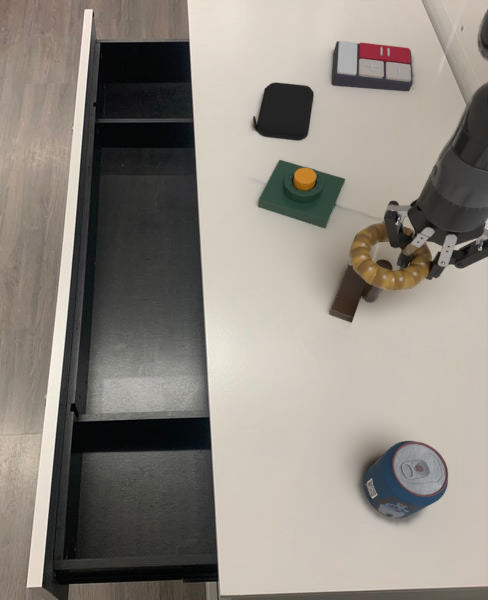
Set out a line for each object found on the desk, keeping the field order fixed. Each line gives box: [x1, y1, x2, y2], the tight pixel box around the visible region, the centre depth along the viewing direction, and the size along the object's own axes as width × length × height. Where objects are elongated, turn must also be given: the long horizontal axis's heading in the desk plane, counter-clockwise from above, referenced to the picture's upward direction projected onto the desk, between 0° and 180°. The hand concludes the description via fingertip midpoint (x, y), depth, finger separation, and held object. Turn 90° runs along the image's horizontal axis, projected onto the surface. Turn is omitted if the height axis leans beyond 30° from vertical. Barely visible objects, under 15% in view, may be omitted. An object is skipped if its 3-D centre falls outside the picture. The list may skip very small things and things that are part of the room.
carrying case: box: [252, 82, 315, 141], centre depth 101 cm, size 11×3×15 cm
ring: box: [348, 222, 433, 292], centre depth 71 cm, size 10×10×3 cm
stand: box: [328, 258, 394, 324], centre depth 77 cm, size 9×9×10 cm
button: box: [293, 167, 316, 191], centre depth 88 cm, size 4×4×2 cm
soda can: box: [363, 440, 449, 519], centre depth 62 cm, size 7×7×12 cm
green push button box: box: [257, 159, 346, 229], centre depth 90 cm, size 12×10×4 cm
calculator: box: [330, 40, 414, 92], centre depth 106 cm, size 11×4×15 cm
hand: (416, 269), depth 71 cm, fingers closed on ring, 3 cm apart
